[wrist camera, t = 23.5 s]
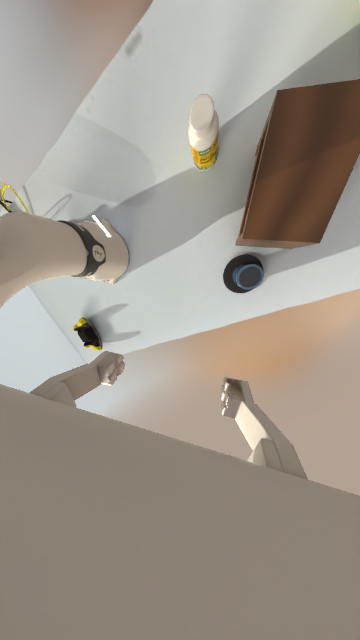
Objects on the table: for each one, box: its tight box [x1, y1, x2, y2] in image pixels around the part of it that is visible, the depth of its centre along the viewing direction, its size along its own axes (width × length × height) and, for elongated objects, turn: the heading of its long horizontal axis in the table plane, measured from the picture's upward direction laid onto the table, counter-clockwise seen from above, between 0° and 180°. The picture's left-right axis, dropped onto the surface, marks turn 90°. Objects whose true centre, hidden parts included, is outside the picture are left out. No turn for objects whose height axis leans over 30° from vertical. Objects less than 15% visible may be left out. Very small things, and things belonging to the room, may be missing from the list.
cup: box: [232, 264, 263, 290], centre depth 33 cm, size 5×5×8 cm
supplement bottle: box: [189, 94, 219, 171], centre depth 26 cm, size 5×5×10 cm
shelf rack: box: [236, 79, 360, 249], centre depth 26 cm, size 13×18×10 cm
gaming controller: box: [73, 318, 102, 350], centre depth 57 cm, size 15×6×10 cm
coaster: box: [223, 255, 263, 293], centre depth 37 cm, size 10×10×1 cm
